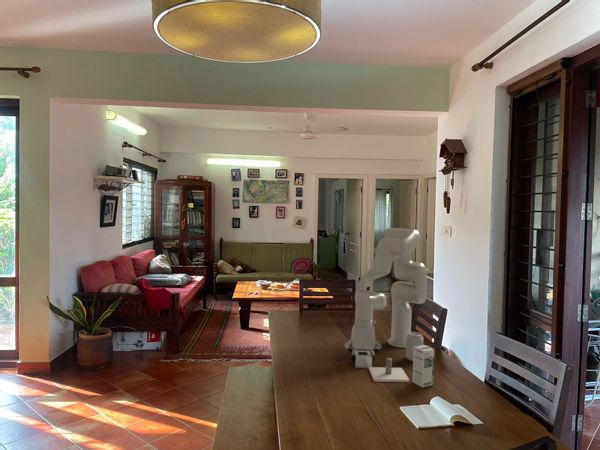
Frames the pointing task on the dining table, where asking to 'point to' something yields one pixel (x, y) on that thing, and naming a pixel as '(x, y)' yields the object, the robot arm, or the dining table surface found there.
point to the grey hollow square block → (363, 359)
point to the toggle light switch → (388, 373)
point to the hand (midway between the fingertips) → (362, 362)
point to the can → (413, 343)
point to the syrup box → (423, 366)
